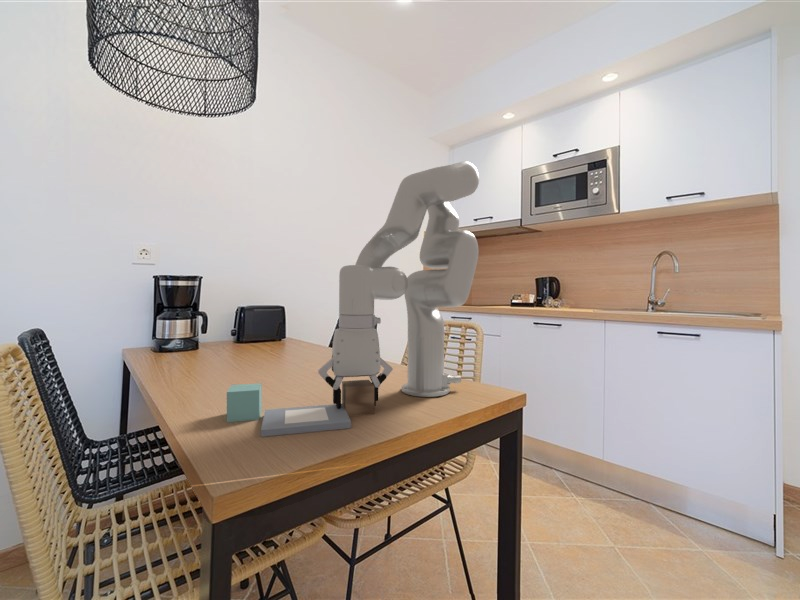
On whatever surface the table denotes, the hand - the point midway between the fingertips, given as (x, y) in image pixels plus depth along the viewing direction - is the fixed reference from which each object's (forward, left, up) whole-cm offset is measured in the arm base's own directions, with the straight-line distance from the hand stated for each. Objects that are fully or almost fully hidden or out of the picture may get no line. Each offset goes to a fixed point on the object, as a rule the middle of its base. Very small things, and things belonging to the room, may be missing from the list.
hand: (355, 405), depth 80 cm
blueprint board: (+10, +4, -1) cm, 11 cm away
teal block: (+22, -3, -1) cm, 23 cm away
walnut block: (0, 0, -1) cm, 2 cm away
